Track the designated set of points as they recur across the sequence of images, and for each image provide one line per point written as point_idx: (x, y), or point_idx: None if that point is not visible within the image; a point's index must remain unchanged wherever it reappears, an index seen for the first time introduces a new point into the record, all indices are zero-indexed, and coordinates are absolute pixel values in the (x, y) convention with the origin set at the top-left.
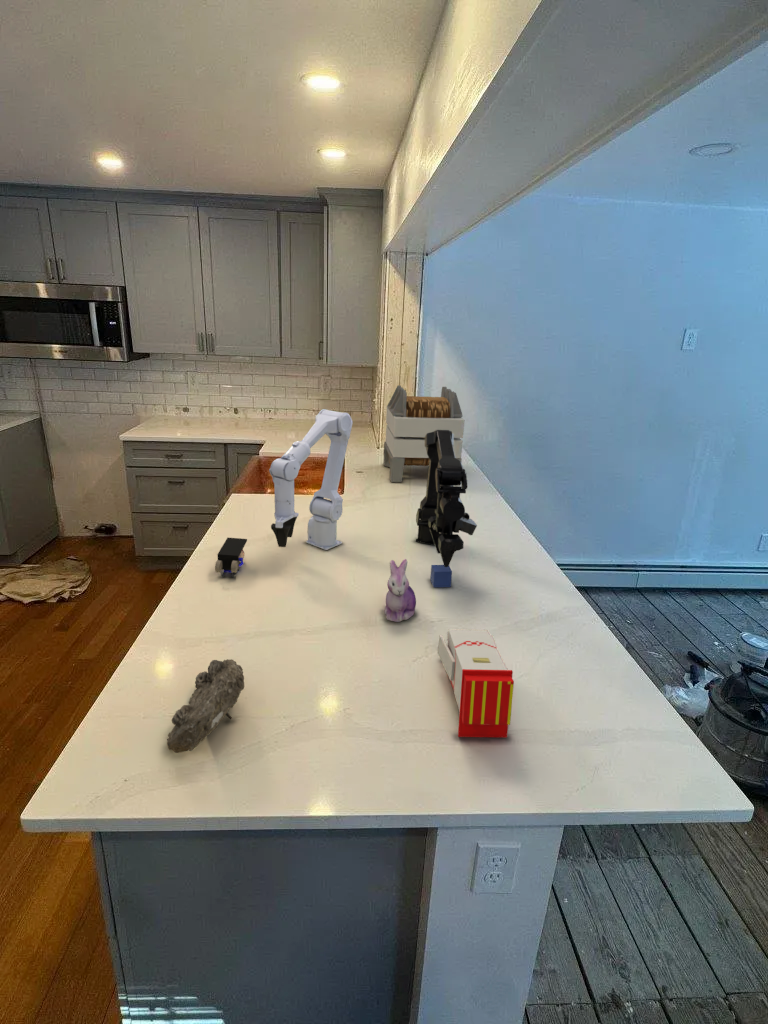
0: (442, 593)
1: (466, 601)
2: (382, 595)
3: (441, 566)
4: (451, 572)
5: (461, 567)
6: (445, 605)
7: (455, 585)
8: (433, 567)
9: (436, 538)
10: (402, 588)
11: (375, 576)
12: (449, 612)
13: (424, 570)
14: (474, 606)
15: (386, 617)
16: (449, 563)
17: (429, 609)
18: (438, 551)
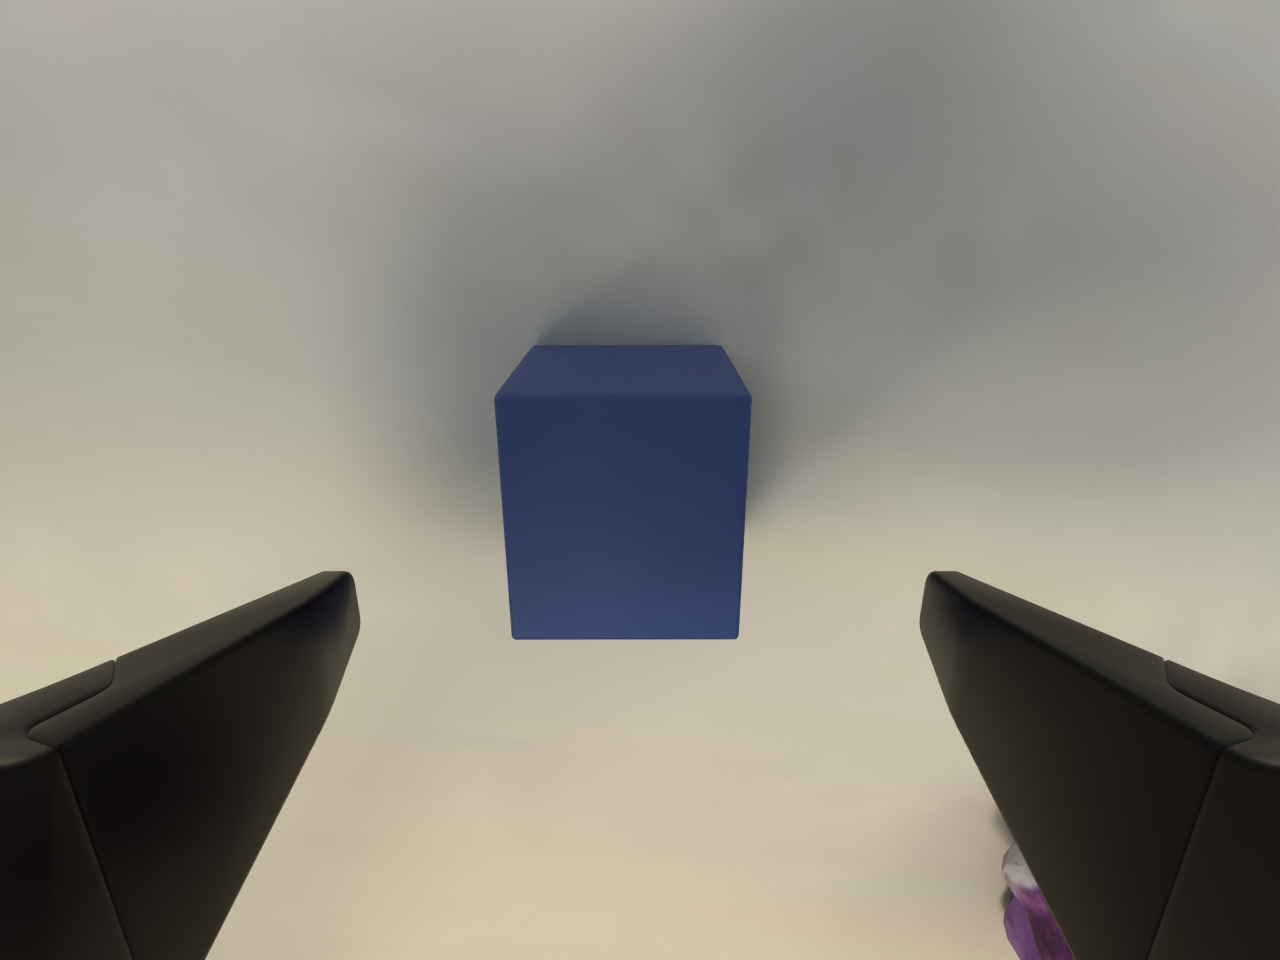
0: (855, 468)
1: (1088, 238)
2: (819, 935)
3: (568, 518)
4: (750, 402)
5: (121, 44)
6: (1110, 491)
7: (678, 275)
8: (599, 629)
9: (169, 925)
10: None
11: (479, 951)
12: (1254, 481)
13: (300, 552)
14: (1227, 168)
15: None
16: (1019, 600)
17: (1140, 645)
18: (347, 642)
